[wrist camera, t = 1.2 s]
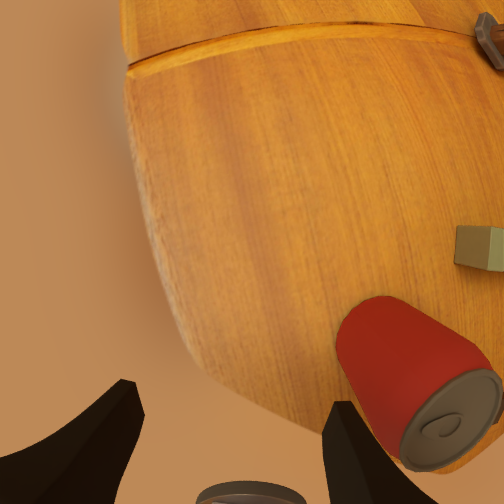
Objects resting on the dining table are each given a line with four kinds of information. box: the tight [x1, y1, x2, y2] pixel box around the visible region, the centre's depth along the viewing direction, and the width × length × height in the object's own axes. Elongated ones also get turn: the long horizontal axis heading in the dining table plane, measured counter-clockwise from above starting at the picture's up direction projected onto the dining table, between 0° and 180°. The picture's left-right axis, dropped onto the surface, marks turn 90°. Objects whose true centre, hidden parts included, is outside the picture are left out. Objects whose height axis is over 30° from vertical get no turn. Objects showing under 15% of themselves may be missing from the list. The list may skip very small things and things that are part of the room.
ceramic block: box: [454, 225, 504, 272], centre depth 17 cm, size 3×8×4 cm, turn 86°
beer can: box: [336, 296, 503, 472], centre depth 14 cm, size 7×7×12 cm
